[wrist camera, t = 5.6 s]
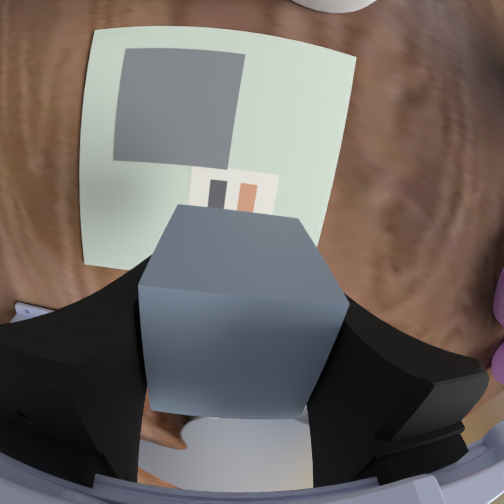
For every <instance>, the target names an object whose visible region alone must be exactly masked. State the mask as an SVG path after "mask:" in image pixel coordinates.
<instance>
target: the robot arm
mask: <svg viewBox="0 0 504 504" xmlns="http://www.w3.org/2000/svg"><path fill="white" fill-rule="evenodd" d="M151 256H152V255H150V256H149V257H147V258H146V259H145V260H143V261H142V262H141V263H139V264H138V265H137V266H135V267H134V268H132V269H131V270H130V271H128V272H127V273H126V274H124V275H123V276H121V277H120V278H118V279H116V280H115V281H113V282H112V283H110V284H109V285H107V286H106V287H104V288H102V289H101V290H99V291H97V292H95V293H94V294H92V295H90V296H88V297H86V298H84V299H82V300H80V301H77V302H75V303H73V304H70V305H68V306H65V307H63V308H60V309H58V310H55V311H54V310H49V309H45V308H40V307H36V306H32V305H28V304H24V303H20V302H18V303H16V305H15V309H16V312H17V314H16V315H15V316H14V318H13V319H12V320H11V322H10V323H6V324H1V325H0V504H489V503H491V502H492V501H494V500H495V499H496V498H498V497H499V496H500V495H501V494H503V493H504V419H503V420H501V421H500V422H498V423H497V424H496V425H494V426H493V427H492V428H491V429H490V430H489V431H488V432H487V433H486V434H485V435H484V437H483V438H481V439H479V440H477V441H475V442H473V443H471V444H468V445H466V444H465V442H464V440H463V438H462V436H461V435H460V433H462V432H463V431H464V429H465V427H464V425H463V423H462V421H461V420H462V419H463V418H464V417H465V416H466V415H467V414H468V412H469V411H470V410H471V409H472V408H473V407H474V406H475V404H476V403H477V402H478V401H479V399H480V398H481V397H482V395H483V394H484V392H485V390H486V389H487V386H488V382H489V376H488V373H487V372H486V371H485V369H484V368H483V367H482V365H481V364H480V363H479V362H478V361H477V360H476V359H474V358H470V357H466V356H463V355H459V354H455V353H452V352H448V351H445V350H443V349H440V348H437V347H435V346H432V345H429V344H427V343H425V342H422V341H420V340H418V339H416V338H414V337H411V336H409V335H407V334H405V333H403V332H401V331H399V330H398V329H396V328H394V327H392V326H391V325H389V324H387V323H386V322H384V321H382V320H381V319H379V318H377V317H376V316H374V315H373V314H371V313H370V312H369V311H367V310H366V309H364V308H363V307H362V306H360V305H359V304H357V303H356V302H355V301H353V300H352V299H351V298H350V297H348V296H347V295H346V294H345V293H344V295H345V296H346V298H347V300H348V302H349V303H350V304H349V307H348V310H347V312H346V315H345V317H344V320H343V322H342V325H341V327H340V330H339V332H338V335H337V337H336V340H335V342H334V344H333V347H332V349H331V351H330V354H329V356H328V358H327V361H326V363H325V365H324V367H323V370H322V372H321V374H320V376H319V378H318V381H317V383H316V385H315V387H314V389H313V391H312V393H311V395H310V397H309V399H308V401H307V410H308V417H309V426H310V435H311V446H312V460H313V488H309V489H301V490H289V491H276V492H252V493H251V492H249V493H248V492H247V493H235V492H234V493H232V492H231V493H230V492H207V491H192V490H182V489H173V488H166V487H158V486H152V485H146V484H140V483H137V472H138V455H139V442H140V433H141V424H142V416H143V409H144V402H145V395H146V389H147V378H146V371H145V363H144V354H143V345H142V334H141V323H140V310H139V293H138V284H139V282H140V279H141V277H142V275H143V273H144V271H145V269H146V267H147V264H148V262H149V260H150V258H151Z"/></svg>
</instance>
